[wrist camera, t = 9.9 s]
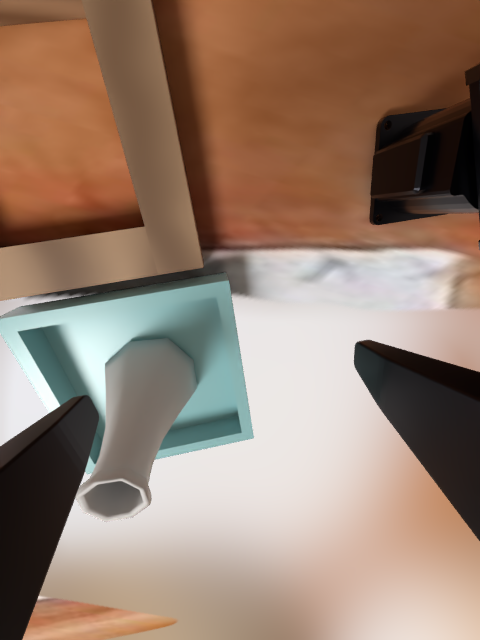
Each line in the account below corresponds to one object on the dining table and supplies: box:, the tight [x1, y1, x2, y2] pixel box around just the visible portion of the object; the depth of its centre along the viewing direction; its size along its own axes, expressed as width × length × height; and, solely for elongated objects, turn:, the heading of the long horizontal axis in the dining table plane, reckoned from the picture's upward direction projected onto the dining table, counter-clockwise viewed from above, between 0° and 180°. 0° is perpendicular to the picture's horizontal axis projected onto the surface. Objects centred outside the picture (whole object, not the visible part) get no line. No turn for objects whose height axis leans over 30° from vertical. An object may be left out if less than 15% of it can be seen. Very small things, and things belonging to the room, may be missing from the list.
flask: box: [75, 338, 197, 522], centre depth 16 cm, size 7×7×10 cm
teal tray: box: [0, 272, 254, 474], centre depth 20 cm, size 15×15×2 cm
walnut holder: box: [0, 0, 204, 301], centre depth 13 cm, size 16×16×2 cm
